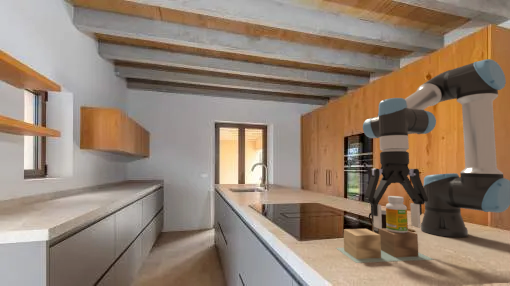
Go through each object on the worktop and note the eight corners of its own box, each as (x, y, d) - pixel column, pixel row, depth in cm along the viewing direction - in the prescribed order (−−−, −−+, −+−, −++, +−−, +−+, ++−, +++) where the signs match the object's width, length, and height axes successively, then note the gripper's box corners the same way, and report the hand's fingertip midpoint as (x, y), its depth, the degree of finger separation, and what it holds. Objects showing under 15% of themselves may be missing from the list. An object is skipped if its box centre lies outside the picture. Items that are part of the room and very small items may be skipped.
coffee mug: (403, 246, 85) (401, 215, 86) (375, 244, 86) (374, 213, 87) (391, 236, 96) (390, 209, 97) (367, 235, 98) (366, 208, 99)
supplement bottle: (400, 234, 71) (398, 198, 71) (382, 229, 75) (381, 196, 76) (412, 232, 73) (410, 197, 74) (394, 228, 78) (393, 195, 79)
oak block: (366, 249, 76) (366, 228, 77) (381, 257, 69) (380, 234, 70) (344, 250, 75) (343, 229, 76) (356, 258, 68) (355, 235, 69)
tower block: (400, 248, 78) (400, 227, 78) (418, 256, 71) (417, 233, 71) (379, 249, 77) (378, 228, 77) (394, 257, 70) (393, 234, 70)
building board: (402, 250, 80) (402, 245, 80) (434, 265, 68) (434, 259, 68) (335, 253, 77) (335, 247, 78) (356, 268, 66) (356, 262, 66)
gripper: (420, 152, 81) (424, 223, 79) (349, 151, 78) (351, 225, 76) (440, 151, 74) (445, 229, 72) (363, 149, 71) (365, 231, 69)
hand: (397, 227), depth 74 cm, fingers open, 11 cm apart
